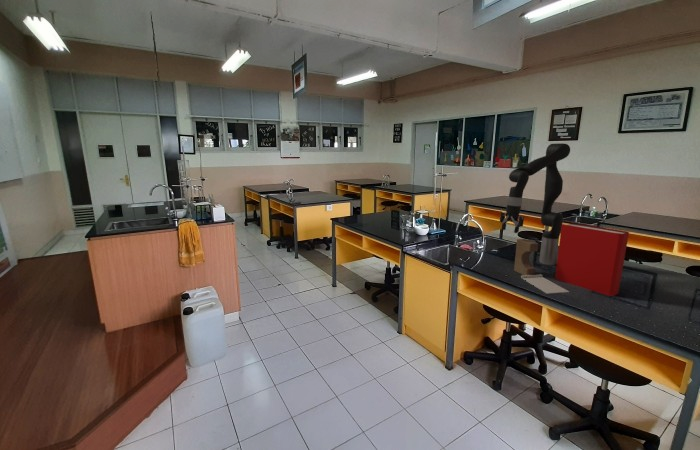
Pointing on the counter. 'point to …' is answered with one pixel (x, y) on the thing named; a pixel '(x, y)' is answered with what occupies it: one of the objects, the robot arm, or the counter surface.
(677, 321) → the counter surface
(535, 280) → the mat
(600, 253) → the book
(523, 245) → the decorative block
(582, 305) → the counter surface
